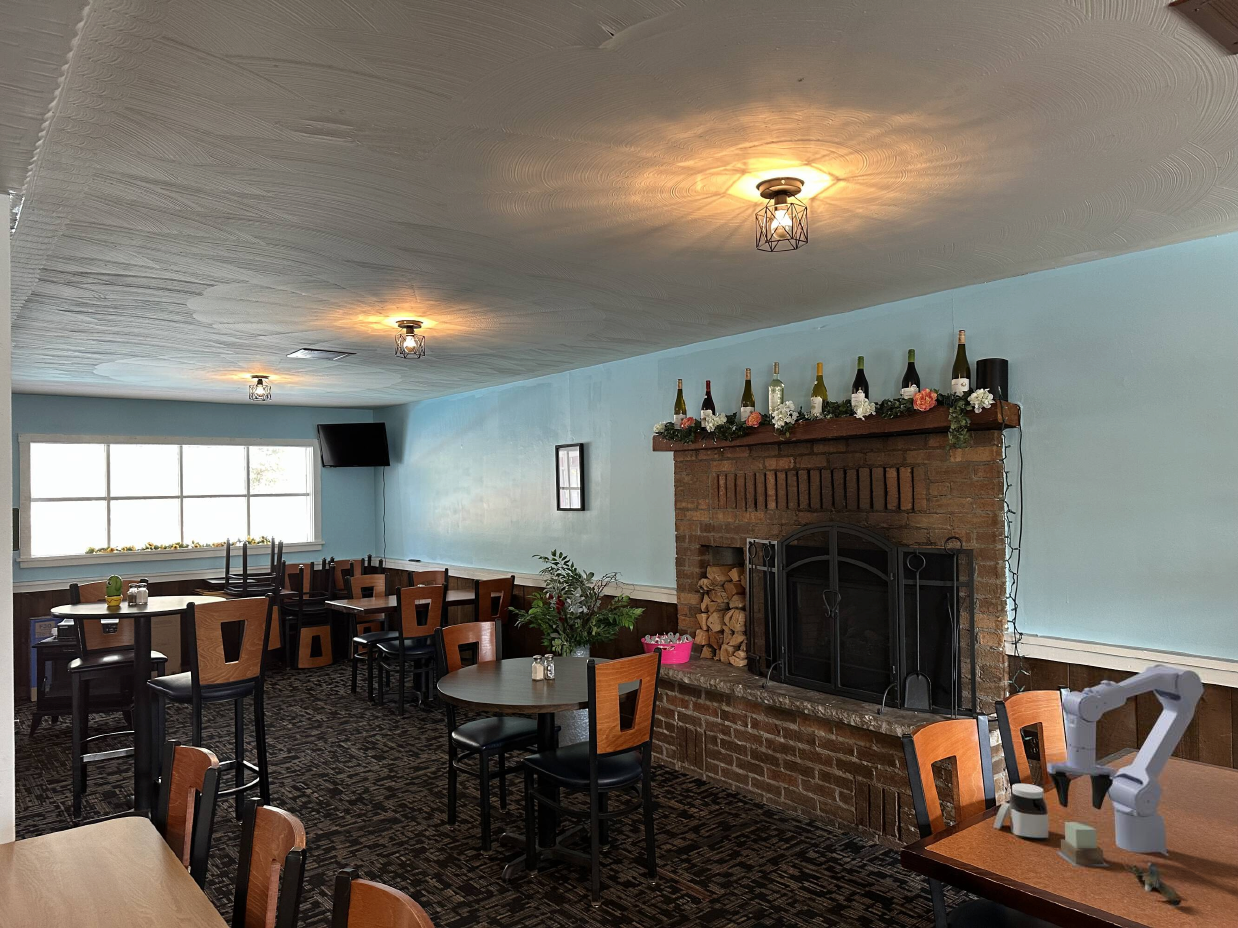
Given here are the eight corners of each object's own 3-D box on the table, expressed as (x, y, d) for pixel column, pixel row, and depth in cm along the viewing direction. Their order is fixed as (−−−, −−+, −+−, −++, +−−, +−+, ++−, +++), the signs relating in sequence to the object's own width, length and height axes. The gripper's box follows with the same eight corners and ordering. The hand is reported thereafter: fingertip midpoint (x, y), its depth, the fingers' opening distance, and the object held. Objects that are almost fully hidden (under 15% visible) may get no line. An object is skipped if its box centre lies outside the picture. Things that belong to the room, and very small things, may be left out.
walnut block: (1087, 853, 185) (1087, 839, 186) (1103, 863, 179) (1103, 849, 180) (1061, 852, 185) (1060, 839, 186) (1076, 863, 179) (1075, 849, 180)
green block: (1096, 848, 181) (1096, 829, 181) (1076, 848, 181) (1075, 829, 181) (1085, 840, 185) (1084, 821, 185) (1065, 840, 185) (1064, 821, 185)
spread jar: (1053, 846, 191) (1051, 795, 192) (1001, 842, 194) (999, 792, 194) (1037, 828, 203) (1036, 780, 204) (988, 824, 205) (987, 776, 206)
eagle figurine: (1117, 882, 170) (1154, 893, 161) (1127, 849, 172) (1164, 858, 164) (1146, 901, 170) (1185, 913, 162) (1156, 868, 173) (1194, 878, 164)
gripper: (1102, 743, 193) (1101, 803, 192) (1040, 739, 193) (1039, 799, 192) (1120, 751, 186) (1119, 813, 185) (1056, 747, 186) (1055, 809, 185)
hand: (1080, 806), depth 188 cm, fingers open, 7 cm apart
